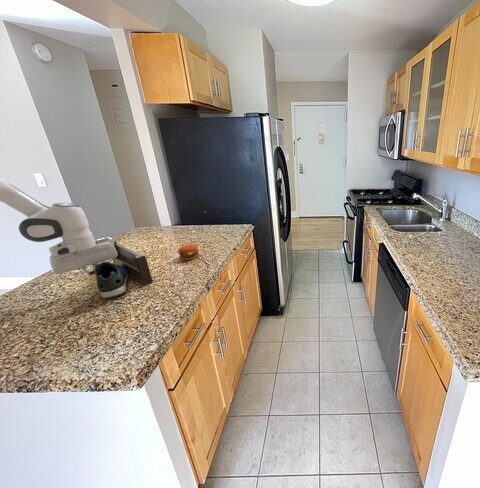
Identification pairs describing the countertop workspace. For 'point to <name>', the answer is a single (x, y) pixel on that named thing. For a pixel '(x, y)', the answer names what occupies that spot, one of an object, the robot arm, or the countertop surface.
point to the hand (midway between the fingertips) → (92, 274)
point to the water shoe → (110, 279)
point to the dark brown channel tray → (133, 264)
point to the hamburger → (188, 252)
